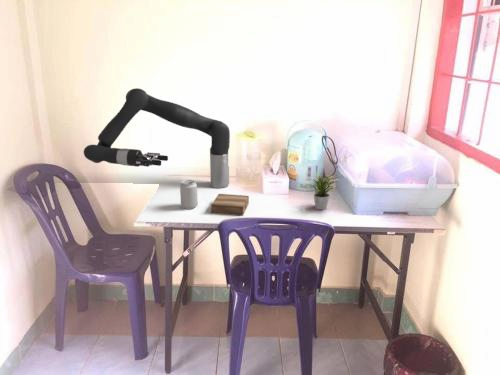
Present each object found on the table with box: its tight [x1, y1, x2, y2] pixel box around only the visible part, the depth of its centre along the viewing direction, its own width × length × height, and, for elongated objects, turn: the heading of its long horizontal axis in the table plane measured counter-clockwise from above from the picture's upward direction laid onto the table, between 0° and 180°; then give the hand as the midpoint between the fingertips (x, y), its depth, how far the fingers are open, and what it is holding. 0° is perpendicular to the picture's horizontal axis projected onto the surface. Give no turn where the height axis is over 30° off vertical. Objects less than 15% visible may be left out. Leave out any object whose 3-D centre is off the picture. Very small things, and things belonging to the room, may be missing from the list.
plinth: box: [210, 193, 250, 216], centre depth 195 cm, size 14×14×4 cm
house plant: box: [308, 173, 340, 211], centre depth 194 cm, size 14×14×16 cm
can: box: [179, 179, 199, 210], centre depth 195 cm, size 8×8×12 cm
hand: (164, 160), depth 191 cm, fingers open, 8 cm apart
